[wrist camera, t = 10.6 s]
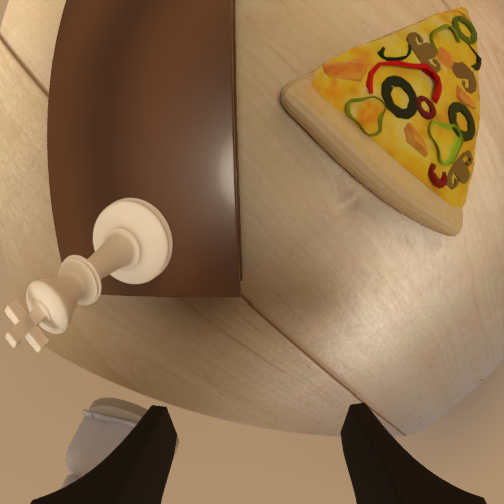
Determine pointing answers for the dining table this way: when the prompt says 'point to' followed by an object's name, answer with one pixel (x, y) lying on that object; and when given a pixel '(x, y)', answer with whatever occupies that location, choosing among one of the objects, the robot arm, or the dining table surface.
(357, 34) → the dining table surface
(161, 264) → the chess piece
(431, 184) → the pizza slice
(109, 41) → the stand
